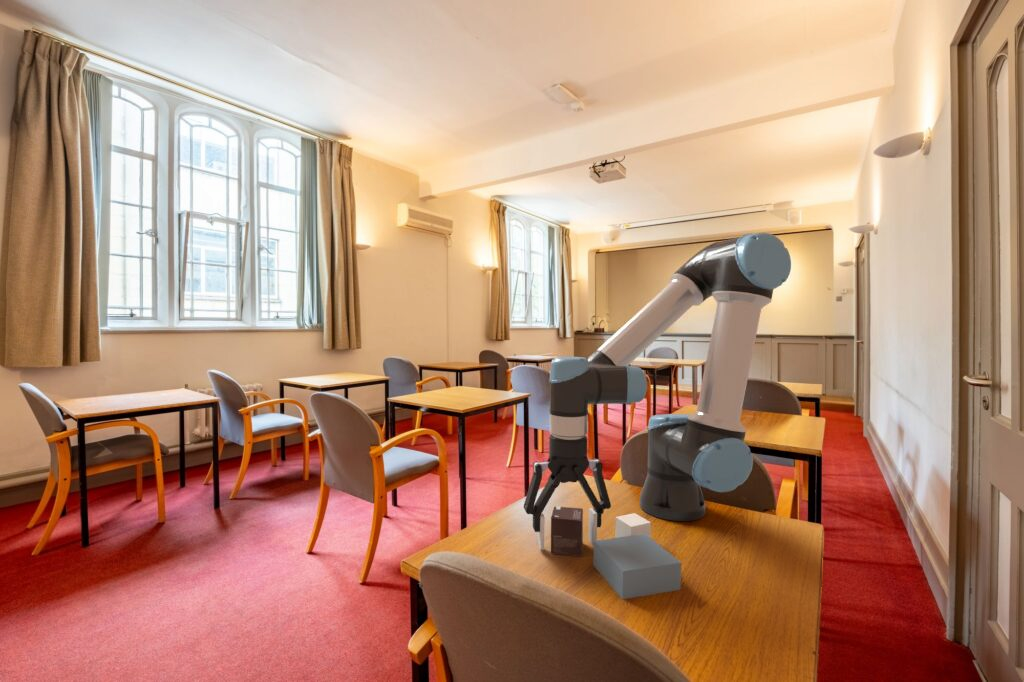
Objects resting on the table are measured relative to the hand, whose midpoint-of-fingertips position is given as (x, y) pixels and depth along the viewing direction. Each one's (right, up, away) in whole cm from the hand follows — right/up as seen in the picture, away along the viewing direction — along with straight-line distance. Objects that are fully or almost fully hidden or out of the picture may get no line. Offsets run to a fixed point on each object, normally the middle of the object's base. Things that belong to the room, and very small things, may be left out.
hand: (566, 544), depth 94 cm
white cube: (+14, -1, +3) cm, 14 cm away
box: (0, -1, 0) cm, 1 cm away
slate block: (+11, -2, -10) cm, 15 cm away
